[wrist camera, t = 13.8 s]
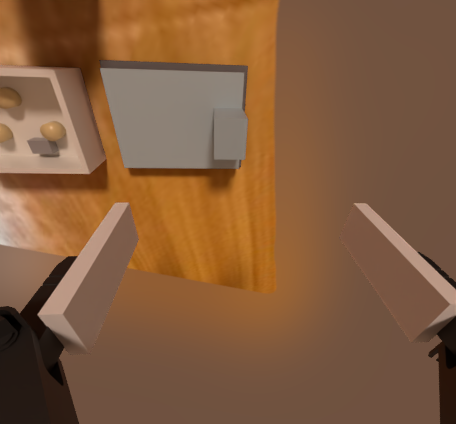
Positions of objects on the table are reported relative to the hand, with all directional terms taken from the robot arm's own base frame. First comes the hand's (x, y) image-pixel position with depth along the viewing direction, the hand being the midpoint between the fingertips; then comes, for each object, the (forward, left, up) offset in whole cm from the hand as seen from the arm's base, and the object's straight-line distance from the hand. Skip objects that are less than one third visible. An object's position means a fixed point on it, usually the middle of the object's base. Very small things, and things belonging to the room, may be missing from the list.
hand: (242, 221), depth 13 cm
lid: (-7, 0, -26) cm, 27 cm away
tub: (-29, 0, -26) cm, 39 cm away
